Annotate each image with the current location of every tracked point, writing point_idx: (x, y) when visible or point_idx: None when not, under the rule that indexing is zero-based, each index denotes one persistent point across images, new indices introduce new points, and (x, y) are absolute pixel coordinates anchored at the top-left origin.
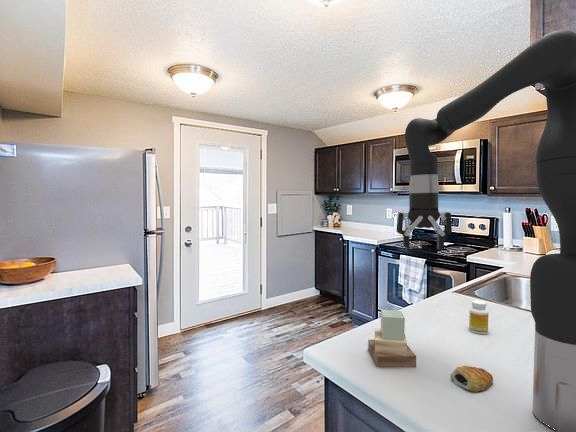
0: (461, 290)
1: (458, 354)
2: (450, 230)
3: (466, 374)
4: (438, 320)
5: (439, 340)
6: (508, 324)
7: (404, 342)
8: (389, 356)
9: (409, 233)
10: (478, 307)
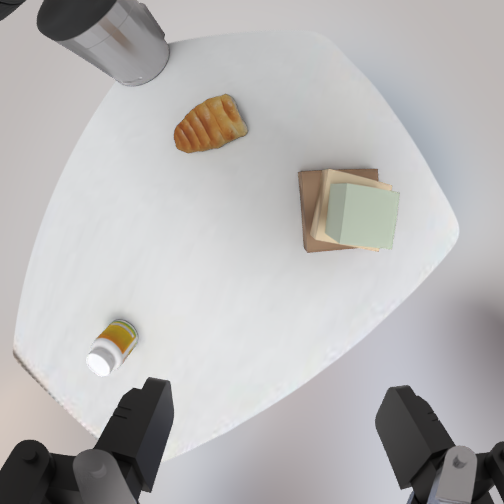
0: None
1: (193, 231)
2: (17, 461)
3: (228, 102)
4: (184, 380)
5: (210, 292)
6: (74, 354)
7: (333, 171)
8: (356, 169)
9: (445, 470)
10: (103, 351)
